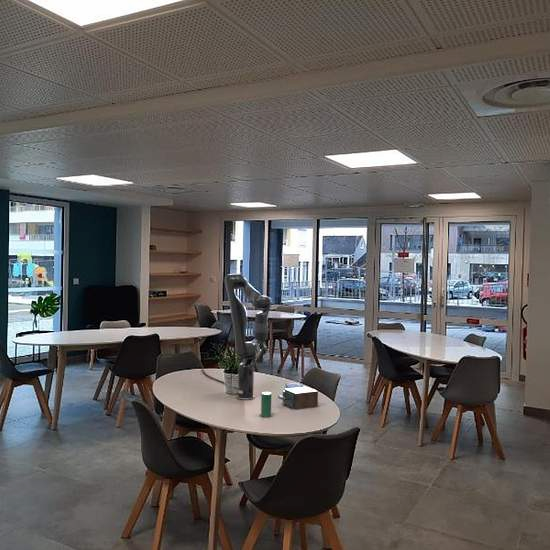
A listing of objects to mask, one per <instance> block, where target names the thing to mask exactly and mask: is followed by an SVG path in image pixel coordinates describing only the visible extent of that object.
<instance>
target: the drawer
mask: <svg viewBox="0 0 550 550" xmlns="http://www.w3.org/2000/svg"><path fill="white" fill-rule="evenodd" d="M277 398H278V399H280V400H282V403H283V404H284V405H285V404H286V405H285V406H287V405H288V406H287V407H289V406H290V407H289V408H291V407H292V408H291V409H293V408H294V399H295V395H294V394H291V393H289V392H286V391H284V390H283V391H282V395H278V396H277Z"/></svg>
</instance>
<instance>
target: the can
mask: <svg viewBox="0 0 550 550" xmlns="http://www.w3.org/2000/svg"><path fill="white" fill-rule="evenodd" d="M260 394H261V395H260V398H261V399H260V401H261V402H260V417H262V418H271V417H272V392H269V391H263V392H261V393H260Z"/></svg>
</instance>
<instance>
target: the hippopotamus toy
mask: <svg viewBox="0 0 550 550" xmlns="http://www.w3.org/2000/svg"><path fill="white" fill-rule="evenodd" d="M298 387H304V385H303V384H301V383H297V382H290V383H288V384H287V383H285V386H284V389H288V388H298Z"/></svg>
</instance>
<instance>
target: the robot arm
mask: <svg viewBox="0 0 550 550" xmlns="http://www.w3.org/2000/svg"><path fill="white" fill-rule="evenodd" d="M224 285H225V286H224V287H225V289H226V294H227V298H228V302H229V309H230V315H231V316H230V317H231V321H232V327H233V334H234V335H233V336H234V349H235V353H236V356H237V357H238V359H240V360H241V362H240V363H239V364H238V366H237V369H238V370H237V387H238V389H237V399H238V400H243V401H247V400H248V401H249V400H253V399H254V383H255V381H254V378H255V377H254V376H255V375H254V373H255V366H256V356H257V357H258V362H259V363H263V362H264V355H266V353H267V351H268V348H269V347H268V346H267V345H266V344H267V343H266V341H267V340H268V339H269V325H268V323H269V322H268V319H269V314H270V309H271V306H272V299H271V298H270V296H268V295H261V293H260V291H258V290H257V289H255V288H254V287H253V286H252V285H251V284H250V283H249V281H248V280H247V279H246V278H245V276H244V275H242V274H241V273H230V274H226V275H225V277H224ZM238 289H242V290H243V295H244V297H245V298H246V299H247V300H249V301H250V303H251V306H252V307H253V308H255V309H261V310H260V311H259V312H256V313H255V315H254V340H256V342H255V343H253V342H251V341H246V338H245V335H246V334H245V333H246V329H247V325H248V313H247V309H246V307H245V306H244V304H243V303H242V302H241V300H240V298H238V296H237V294H236V291H235V290H238ZM201 371H202V372H203V374H204V375H205V376H206V377H208V378H209V379H212V380H214V381H217V382H219V383H222V384H225V383H224V382H225V381H223V380H219V379H217V378H214V377H213V376H211V375H209V374H207V373H206V372H205V370H204V367H201Z"/></svg>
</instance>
